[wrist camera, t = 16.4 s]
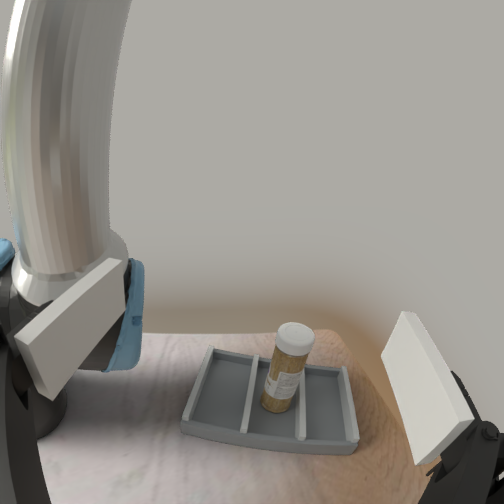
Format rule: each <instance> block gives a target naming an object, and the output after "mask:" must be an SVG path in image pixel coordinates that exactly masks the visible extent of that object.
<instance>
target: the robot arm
mask: <svg viewBox="0 0 504 504" xmlns="http://www.w3.org/2000/svg"><path fill="white" fill-rule="evenodd" d="M131 1H132V0H15V3H14V7H13V11H12V15H11V19H10V24H9V29H8V34H7V40H6V46H5V53H4V60H3V69H2V80H1V100H0V101H1V102H0V129H1V149H2V160H3V170H4V178H5V185H6V192H7V198H8V203H9V209H10V214H11V219H12V223H13V228H14V232H15V236H16V240H17V244H18V247H19V251H18V252H17V254H16V256H15V249H14V248H13V246H12V243H11V242H10V241H9V240H7V239H3V238H0V504H51V501H50V498H49V494H48V491H47V487H46V483H45V479H44V475H43V471H42V466H41V462H40V457H39V451H38V446H37V438H40V437H42V436H45V435H46V434H48V433H49V432H51V431H52V430H53V429H54V428H55V427H56V426H57V425H58V424H59V422H60V421H61V419H62V418H63V415H64V413H65V410H66V405H67V396H66V391H65V388H64V386H65V384H66V383H67V382H68V380H69V379H70V378H71V376H72V375H73V374H74V372H75V371H76V370H77V369H81V370H96V371H102V372H109V371H115V370H129V369H132V368H134V367H135V366H136V365H137V363H138V361H139V359H140V353H141V342H142V316H143V303H144V266H143V264H142V262H140V261H138V260H134V259H133V258H128V251H127V247H126V244H125V242H124V240H123V239H122V238H121V237H120V236H119V235H118V234H117V233H116V232H114V231H113V230H111V229H110V221H109V181H108V180H109V145H110V127H111V115H112V104H113V96H114V87H115V80H116V73H117V66H118V60H119V55H120V49H121V43H122V39H123V34H124V29H125V25H126V21H127V17H128V13H129V9H130V4H131ZM381 358H382V360H383V363H384V366H385V369H386V371H387V374H388V377H389V380H390V382H391V386H392V389H393V392H394V395H395V398H396V401H397V404H398V407H399V410H400V413H401V417H402V420H403V423H404V426H405V430H406V434H407V437H408V441H409V444H410V448H411V452H412V455H413V459H414V463H415V466H417V465H422V464H427V463H431V462H432V461H433V460H434V459H436V458H437V457H438V456H439V455H440V456H441V459H442V461H440V462H439V463H438V464H437V465H436V466H435V467H433V468H432V469H431V470H430V471H429V472H428V473H427V474H426V476H429V475H430V474H431V473H432V472H434V473H433V475H432V477H431V479H430V481H429V483H428V485H427V487H426V489H425V491H424V493H423V495H422V497H421V499H420V501H419V502H418V504H504V477H503V478H502V479H501V480H499V475H500V474H501V473H502V472H503V471H504V433H500V432H499V430H498V428H497V427H496V426H495V425H494V424H493V423H491V422H488V421H482V420H481V418H480V416H479V414H478V412H477V410H476V408H475V406H474V404H473V402H472V400H471V398H470V396H468V395H469V394H468V392H467V391H466V389H465V387H464V385H463V383H462V382H461V379H460V378H459V377H458V376H457V375H456V374H455V373H454V372H453V371H450V370H449V368H448V366H447V365H446V363H445V362H444V359H443V358H442V356H441V354H440V352H439V351H438V349H437V347H436V346H435V344H434V342H433V341H432V339H431V337H430V336H429V334H428V332H427V331H426V329H425V328H424V326H423V325H422V323H421V321H420V320H419V318H418V317H417V315H416V314H415V313H414V312H406V311H402V312H401V314H400V317H399V319H398V321H397V323H396V326H395V328H394V330H393V332H392V334H391V336H390V339H389V340H388V343H387V344H386V347H385V349H384V350H383V352H382V355H381Z"/></svg>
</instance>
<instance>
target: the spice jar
mask: <svg viewBox="0 0 504 504" xmlns="http://www.w3.org/2000/svg"><path fill="white" fill-rule="evenodd" d="M314 340H315V335H314V333H313V331H312V330H311V329H310V328H309V327H307V326H305V325H303V324H300V323H293V322H291V323H285V324H283V325H281V326H280V327H279V329H278V331H277V335H276V339H275V343H276V344H275V345H276V346H275V350H274V353H273V357H272V360H271V363H270V367H269V371H268V374H267V378H266V381H265V385H264V390H263V393H262V395H261V398H260V402H261V404H262V406H263V407H264V408H265V409H266V410H268V411H270V412H273V413H281V412H284V411H286V410H287V409H288V408H289V407H290V404H291V400H292V397H293V395H294V393H295V391H296V388H297V386H298V383H299V380H300V378H301V375H302V372H303V370H304V365H305V363H306V360H307V357H308V353H309V352H310V351H311V349H312V347H313V343H314Z"/></svg>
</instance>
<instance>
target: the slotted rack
mask: <svg viewBox="0 0 504 504" xmlns="http://www.w3.org/2000/svg"><path fill="white" fill-rule="evenodd" d="M271 360H272V359H266V358H260V357H259V355H258V354H254V356H249V355H244V354H238V353H233V352H228V351H223V350H219V349H214V346H212V345H209V347H208V350H207V352H206V355H205V358H204V360H203V363H202V365H201V368H200V370H199V373H198V376H197V378H196V381H195V383H194V386H193V389H192V391H191V394H190V396H189V399H188V402H187V404H186V407H185V409H184V412H183V415H182V419H181V421H180V428H181V433H183V434H187V435H191V436H195V437H199V438H203V439H207V440H212V441H217V442H221V443H226V444H232V445H237V446H243V447H249V448H255V449H263V450H270V451H279V452H289V453H301V454H319V455H351V454H352V453H353V451H354V450H355V449H356V448H357V446H358V440H359V439H360V437H359V431H358V425H357V419H356V414H355V408H354V403H353V397H352V392H351V387H350V382H349V377H348V373H347V368H346V366H341V368H333V367H324V366H315V365H307V364H305V365H304V370H303V372H302V375H301V378H300V380H299V383H298V386H297V388H296V391H295V393H294V395H293V397H292V400H291V404H290V407H289V408H288V409H287V410H286V411H284V412H281V413H273V412H270V411H268V410H266V409H265V408H264V407H263V406H262V404H261V402H260V398H261V395H262V393H263V390H264V385H265V381H266V378H267V374H268V371H269V367H270V363H271Z"/></svg>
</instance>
